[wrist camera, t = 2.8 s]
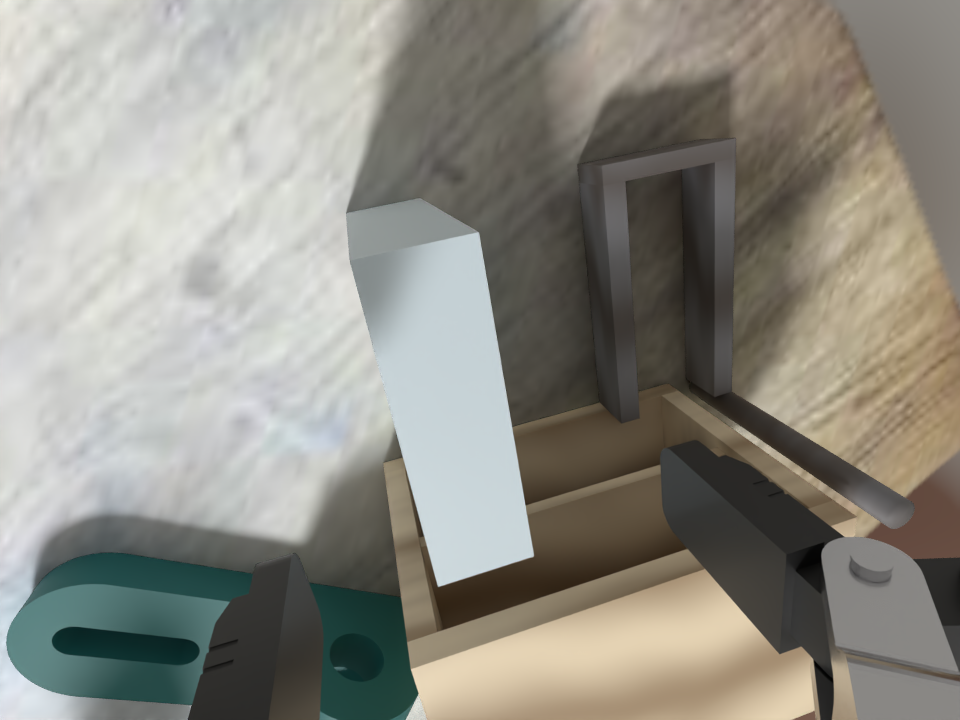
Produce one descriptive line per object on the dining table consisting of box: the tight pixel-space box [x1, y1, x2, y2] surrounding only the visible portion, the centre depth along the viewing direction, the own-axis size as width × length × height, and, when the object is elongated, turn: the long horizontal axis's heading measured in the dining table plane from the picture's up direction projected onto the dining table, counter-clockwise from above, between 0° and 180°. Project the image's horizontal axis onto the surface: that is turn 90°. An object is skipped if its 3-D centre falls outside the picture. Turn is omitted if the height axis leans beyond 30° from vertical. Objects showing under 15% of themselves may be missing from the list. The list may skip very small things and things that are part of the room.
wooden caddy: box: [383, 138, 915, 720], centre depth 23 cm, size 22×18×12 cm
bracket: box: [6, 553, 419, 720], centre depth 25 cm, size 18×7×8 cm, turn 66°
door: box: [346, 198, 534, 587], centre depth 20 cm, size 10×4×11 cm, turn 10°
